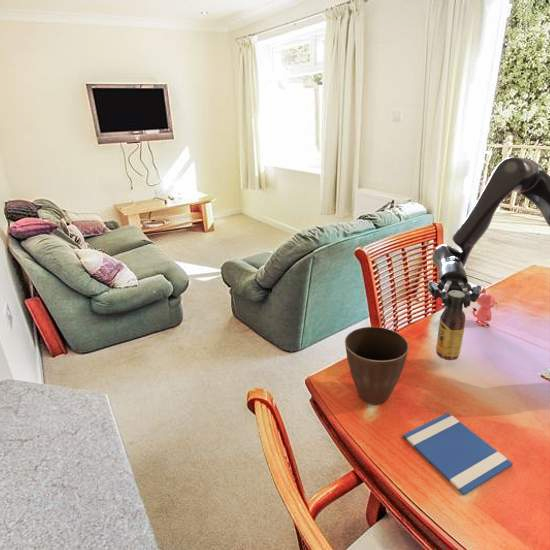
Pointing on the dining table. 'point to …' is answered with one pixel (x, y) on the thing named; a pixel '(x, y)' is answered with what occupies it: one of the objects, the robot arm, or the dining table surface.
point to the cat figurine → (484, 307)
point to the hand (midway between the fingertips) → (456, 303)
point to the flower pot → (375, 361)
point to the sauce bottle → (451, 327)
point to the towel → (457, 452)
